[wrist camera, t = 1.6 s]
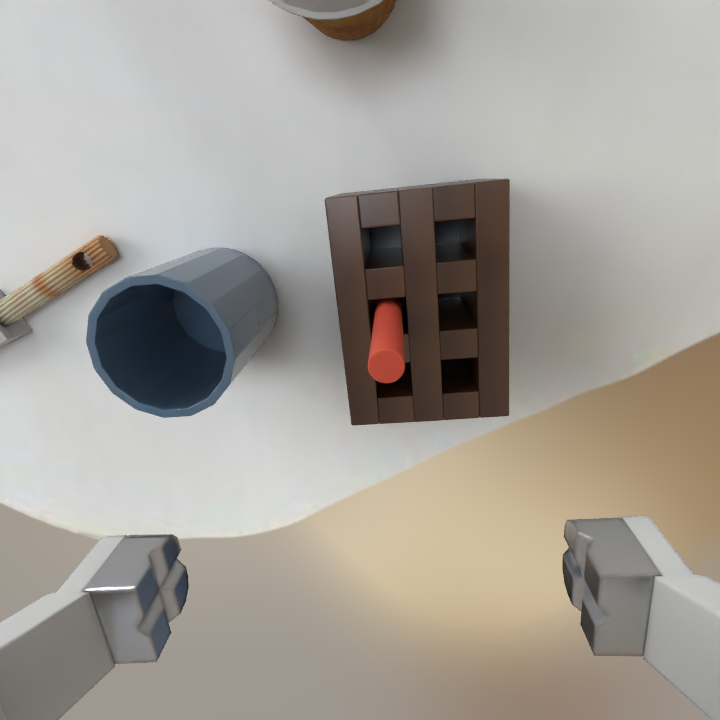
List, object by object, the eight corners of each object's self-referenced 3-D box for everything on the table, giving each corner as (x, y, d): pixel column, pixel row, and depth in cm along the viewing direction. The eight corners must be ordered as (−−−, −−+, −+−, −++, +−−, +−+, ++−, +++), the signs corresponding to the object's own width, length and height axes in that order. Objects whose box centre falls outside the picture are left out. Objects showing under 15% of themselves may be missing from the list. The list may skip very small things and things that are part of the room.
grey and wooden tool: (-124, 355, 37) (82, 224, 34) (-92, 345, 40) (103, 222, 36) (-87, 397, 38) (116, 274, 35) (-58, 384, 41) (134, 268, 37)
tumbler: (268, 242, 35) (217, 268, 25) (285, 349, 38) (246, 412, 28) (160, 253, 36) (67, 282, 26) (184, 357, 39) (110, 421, 29)
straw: (399, 276, 36) (403, 347, 21) (401, 298, 36) (406, 382, 21) (377, 278, 36) (366, 350, 21) (379, 300, 36) (369, 385, 21)
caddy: (483, 178, 33) (509, 178, 26) (486, 369, 38) (509, 416, 30) (339, 193, 34) (324, 198, 27) (359, 378, 39) (351, 426, 31)
